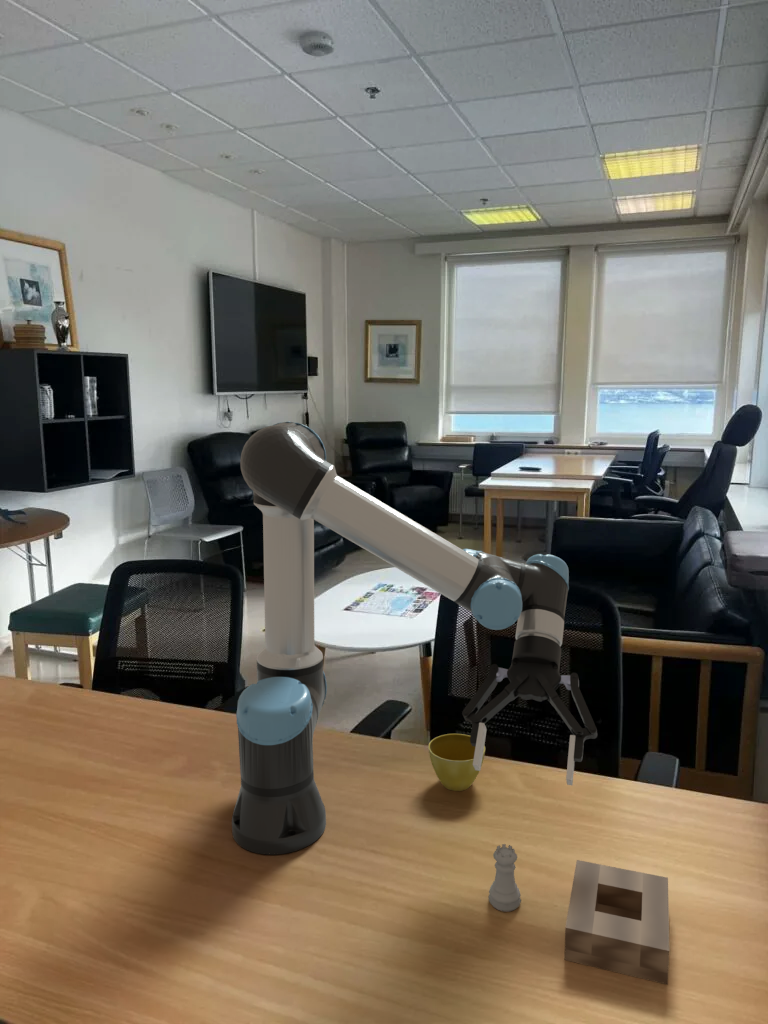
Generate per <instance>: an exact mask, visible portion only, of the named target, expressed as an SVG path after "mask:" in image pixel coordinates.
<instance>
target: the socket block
mask: <svg viewBox="0 0 768 1024" xmlns="http://www.w3.org/2000/svg"><path fill="white" fill-rule="evenodd" d="M572 880H573V881H572V886H571V892H570V898H569V905H568V909H567V916H566V920H565V921H566V922H565V929H564V930H565V931H564V932H565V933H564V956H563V957H564V958H563V959H564V961H569V962H572V963H577V964H580V965H583V966H584V965H585V966H589V967H594V968H597V969H601V970H605V971H610V972H613V973H618V974H622V975H626V976H630V977H633V978H634V977H635V978H639V979H643V980H648V981H651V982H655V983H660V984H663V985H668V983H669V982H668V981H669V968H670V967H669V966H670V965H669V964H670V925H669V924H670V914H669V913H670V912H669V911H670V909H669V878H668V877H667V876H666V877H665V876H661V875H655V874H650V873H645V872H641V871H636V870H630V869H625V868H620V867H616V866H615V867H614V866H610V865H605V864H601V863H600V864H599V863H596V862H591V861H584V860H580V859H576V863H575V869H574V874H573V879H572Z"/></svg>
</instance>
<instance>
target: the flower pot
mask: <svg viewBox="0 0 768 1024" xmlns="http://www.w3.org/2000/svg"><path fill="white" fill-rule="evenodd" d="M470 736H471V735H468V734H464V733H463V734H462V733H447V734H441V735H439V736H436V737H434V738H433V739H431V740H430V742H429V743H428V748H427V749H428V755H429V759H430V761H431V762H430V763H431V765H432V768H433V771H434V773H435V775H436V776H437V778H438V780H439V781H440V784H441V785H442V786H443V787H444V788H445V789H447V790H450V791H453V792H461V791H466V790H468V789H469V788H470V787H471V786H472V785H473V783H474V781H476V779H477V777H478V775H479V773H480V771H477V770H475V768H474V766H473V760H474V753H475V746H472V745H471V742H470ZM485 754H486V746H485V744H484V751H483V757H482V764H481V767H482V766H483V762H484V758H485Z"/></svg>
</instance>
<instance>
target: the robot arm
mask: <svg viewBox="0 0 768 1024" xmlns="http://www.w3.org/2000/svg"><path fill="white" fill-rule="evenodd" d="M240 454H241V455H240V461H239V462H240V471H241V474H242V477H243V480H244V481H245V483H246V484H247V486H248V488H249V489H251V491H252V492H253V505H254V506H255V507H257V509H259V511H260V512H261V513H262V525H263V526H262V527H263V528H262V529H263V530H262V533H263V535H262V536H263V537H262V538H263V540H262V541H263V579H264V580H263V583H264V584H263V585H264V586H263V589H264V591H263V593H264V644H265V645H264V647H263V649H261V651H259V653H257V655H256V683H252V684H250V685H248V686H247V687H246V688H245V689H243V691H242V692H241V693H240V695H239V697H238V700H237V710H236V715H235V717H236V725H237V733H238V735H237V738H238V752H239V756H238V757H239V769H240V770H239V772H240V787H239V790H238V791H239V793H238V796H237V799H236V803H235V806H234V809H233V813H232V816H231V833H232V837H233V839H234V842H236V843H237V845H239V846H240V847H241V848H243V849H244V850H246V851H249V852H252V853H255V854H260V855H268V856H269V855H271V856H272V855H273V856H274V855H282V854H283V855H284V854H289V853H294V852H296V851H300V850H302V849H304V848H306V847H308V846H310V845H312V844H313V843H315V842H316V841H317V840H319V838H320V837H321V836H322V834H324V832H325V830H326V826H327V814H326V806H325V805H324V802H323V799H322V796H321V794H320V790H319V789H318V786H317V783H316V781H315V778H314V777H315V776H314V775H315V774H314V749H313V748H314V744H313V742H314V740H313V739H314V734H315V733H314V732H315V730H316V727H317V723H318V720H319V718H320V713H321V711H322V708H323V705H324V703H325V700H326V698H327V692H328V685H327V683H328V682H327V677H326V674H325V671H324V654H323V651H322V650H320V649H319V648H318V646H316V645H315V525H314V524H315V522H318V523H319V524H321V525H322V526H324V527H326V528H327V529H329V530H331V531H333V532H335V533H336V534H338V535H340V536H341V537H343V538H345V540H348V541H350V542H351V543H354V544H355V545H357V546H359V547H360V548H362V549H364V551H365V550H366V551H367V552H369V553H371V554H372V555H374V556H376V557H378V558H379V559H380V560H383V561H384V562H386V563H387V564H389V565H390V566H392V567H394V568H396V569H397V570H399V571H401V572H403V573H405V574H406V575H408V576H409V577H411V578H413V579H415V580H416V581H418V582H420V583H422V584H424V585H425V586H427V587H429V588H431V589H432V590H433V591H435V592H437V593H438V594H440V595H442V596H444V597H445V598H448V599H449V600H451V601H453V602H454V603H455V604H456V605H459V606H460V607H462V608H463V609H464V610H467V611H469V612H470V613H471V614H472V616H473V617H474V618H475V619H476V621H477V622H478V623H479V624H480V625H482V626H483V627H484V628H486V629H489V630H493V631H494V630H495V631H500V630H504V629H508V628H510V627H512V625H514V624H515V623H516V622H517V624H516V629H515V641H514V644H513V645H514V646H513V652H512V657H511V658H512V659H511V663H510V664H511V665H510V666H509V668H503V667H499V665H498V664H496V663H492V664H491V665H490V668H489V671H488V675H487V677H486V679H485V680H484V681H483V682H482V684H481V685H480V686H479V688H478V689H477V690H476V692H475V694H474V695H473V696H472V697H471V699H470V700H469V702H468V703H467V704H466V706H465V707H464V709H463V710H462V711H461V712H462V713H461V714H462V716H463V718H464V721H466V722H467V723H470V724H472V725H471V730H470V735H469V736H470V742H471V745H472V746H475V753H474V760H473V766H474V768H475V770H477V771H479V772H480V771H482V770H481V769H482V766H481V764H482V765H483V763H482V757H483V751H484V745H485V744H486V743H485V742H486V736H487V727H486V725H485V724H486V723H488V722H489V721H490V720H491V719H492V718H494V716H496V715H497V714H498V713H499V712H500V711H502V709H504V708H505V707H506V706H507V705H508V704H509V703H510V702H513V701H514V700H515V699H517V698H518V697H519V698H521V700H526V701H528V700H534V701H536V702H540V703H542V702H543V701H545V700H547V701H548V702H549V704H551V706H552V707H553V708H554V709H555V711H556V712H557V714H558V715H559V717H560V718H561V720H563V722H564V723H565V725H566V726H567V728H568V730H570V732H571V733H572V734H570V735H569V744H568V753H567V755H568V756H567V763H566V764H567V766H566V768H567V769H566V776H565V777H566V778H565V781H566V784H567V786H573V785H574V784H573V783H574V774H575V773H574V771H575V762H577V763H582V761H583V758H584V757H583V756H584V747H585V746H584V744H585V742H586V740H589V739H590V740H591V739H592V740H595V739H597V738H598V729H597V726H596V724H595V721H594V719H593V717H592V715H591V713H590V710H589V707H588V705H587V703H586V701H585V699H584V696H583V693H582V692H581V691H582V690H581V689H580V680H579V675H578V673H577V672H571V674H569V675H567V674H566V675H563V674H562V675H561V673H560V668H561V667H560V666H561V659H562V658H561V657H562V648H561V646H562V645H563V639H564V630H565V614H566V607H567V600H568V593H569V590H570V586H569V583H570V582H569V580H570V576H569V573H570V571H569V567H568V565H567V563H566V562H565V560H563V559H562V558H560V557H558V556H556V555H553V554H550V553H549V554H547V553H546V554H542V553H537V554H534V555H532V556H530V557H529V558H528V559H527V560H526V561H525V562H521V561H516V560H512V559H508V558H504V557H502V556H497V555H495V554H492V553H488V552H484V551H483V550H475V549H470V548H463V549H462V548H461V547H458V545H456V544H454V543H452V542H450V541H449V540H448V539H445V538H443V537H442V536H440V535H439V534H437V533H435V532H433V531H432V530H430V529H429V528H427V527H425V526H423V525H422V524H420V523H418V522H417V521H414V520H413V519H412V518H410V517H408V516H407V515H406V514H403V513H401V512H400V511H398V510H396V509H395V508H393V507H391V506H390V505H388V504H386V503H384V501H383V502H382V501H381V500H380V499H378V498H376V497H374V496H373V495H371V494H369V493H368V492H366V491H364V490H362V489H361V488H359V487H358V486H356V485H354V484H353V483H351V482H349V481H347V480H346V479H344V478H343V477H341V476H339V475H338V474H337V470H336V467H335V465H334V464H332V463H330V462H328V461H327V451H326V448H325V444H324V442H323V441H322V439H321V437H320V436H319V434H318V433H316V432H315V430H313V429H312V428H310V427H309V426H307V425H305V424H302V423H299V422H292V421H284V422H283V421H281V422H277V423H273V425H270V426H265V427H263V428H261V429H258V430H257V431H256V432H254V433H253V434H251V436H250V437H249V438H248V440H247V441H246V442H245V444H244V445H243V447H242V451H241V453H240ZM505 678H507V680H508V681H509V683H508V684H507V685H506V686H505V687H504V688H503V690H502V691H501V692H499V694H497V695H496V696H495V697H494V698H492V699H491V700H490V701H489V702H488V703H487V704H485V705H484V703H486V701H487V700H488V698H489V697H490V696H491V694H492V693H493V691H494V690H495V688H496V687H497V685H498V683H501V682H502V681H503V679H505ZM562 684H563V685H564V686H565V689H566V690H568V691H571V692H570V693H571V696H572V698H573V699H572V700H573V701H574V703H575V706H576V708H577V710H578V713H579V715H580V718H581V719H582V720H581V721H582V722H583V725H584V728H583V727H582V726H581V725H580V723H579V722H578V721H577V720H576V718H575V717H574V715H573V714H572V713H571V711H570V710H569V709H568V707H567V706H566V704H565V703H564V701H563V700H562V699H561V697H560V696H559V694H558V693H557V691H556V690H557V689H558V688H559V687H560V686H561V685H562ZM483 705H484V706H483ZM482 706H483V707H482Z"/></svg>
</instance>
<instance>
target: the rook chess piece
mask: <svg viewBox="0 0 768 1024" xmlns="http://www.w3.org/2000/svg"><path fill="white" fill-rule="evenodd" d="M515 851H516V850H515V848H513V845H511V844H509V845H508V847H507V845H506V844H505V843H504V844H501V845H500V844H498V845H497V846H496V848H495V851H494V852H493V855H492V856H493V859H494V860H495V863H494V868H495V876H494V881H493V882H492V883H491V885H490V888H489V890H488V893H489V894H488V901H489V904H490V905H492V907H493V908H494V909H495V910H497V911H499V912H504V913H505V912H506V913H508V912H509V913H510V912H512V911H515V910H516V909H517V908H518V907H520V905H521V903H522V899H521V896H522V895H521V892H520V888H519V887H518V884H517V882H516V879H515V869H516V864H515V862H516V861H517V860H518V854H517V853H516V852H515Z"/></svg>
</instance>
